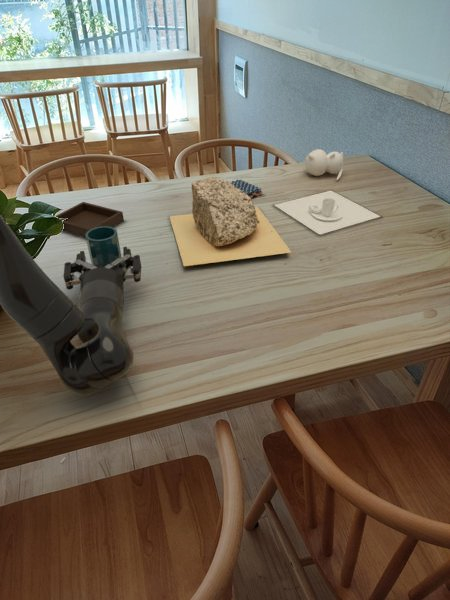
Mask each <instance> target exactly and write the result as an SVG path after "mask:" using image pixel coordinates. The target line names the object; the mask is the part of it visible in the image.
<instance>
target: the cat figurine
mask: <svg viewBox="0 0 450 600" xmlns="http://www.w3.org/2000/svg"><path fill="white" fill-rule="evenodd" d="M343 166H344V152H343V151H341V152H339V151H336V150H333V151H330V152H329V153H327V152H325V151H324V150H323V149H320V148H316V149H314V150H312V151H311V152H309V153H308V154H307V156H306V157H305V161H304V167H303V169H302V172H304V173H305V172H306V173H309V174H310V175H312V176H314V177H319V176H322V175H323V174H325V173H329V174H331V175H335V174H337V173H338V175H337V176H336V179H335V181H338V180H340V178H341V176H342V174H343V169H344V167H343Z"/></svg>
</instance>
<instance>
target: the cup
mask: <svg viewBox="0 0 450 600" xmlns="http://www.w3.org/2000/svg"><path fill="white" fill-rule="evenodd" d="M85 236H86V238H85V241H86V246H87V250H88V255H89V259H90V264H91V265H93V266H94V265H97V264H107V263H112V262H113V261H115V260H116V259H117V258H120V259H121V258H122V257H123V256H122V252H121V245H120V241H119V235H118V230H117V229H116V228H115V227H109V226H102V227H96V228H93V229H91V230H89V231H88V232H87V233H86V234H85ZM117 267H118V266H117Z"/></svg>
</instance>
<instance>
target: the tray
mask: <svg viewBox="0 0 450 600" xmlns="http://www.w3.org/2000/svg"><path fill="white" fill-rule="evenodd" d="M55 216H56V217H58V218H68V219H66V220H64V221H63V224H64V229H63V231H62V232H66V233H68V234H72V235H76V236H79V237H82V238H85V239H86V236H85V234H86V233H87V232H88V231H89V230H91V229H93V228H96V227H102V226H109V227H113V228H115V227H116V226H118V225H119V224H121V223H123V222H125V219H124V213H123V211H122V210H116V209H113V208H109V207H105V206H102V205H97V204H93V203H90V202H86V201H82V202H80V203H78V204H76V205H74V206H72V207H69V208H68V209H66V210H64V211H63V212H60V213H59V214H57V215H55Z"/></svg>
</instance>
